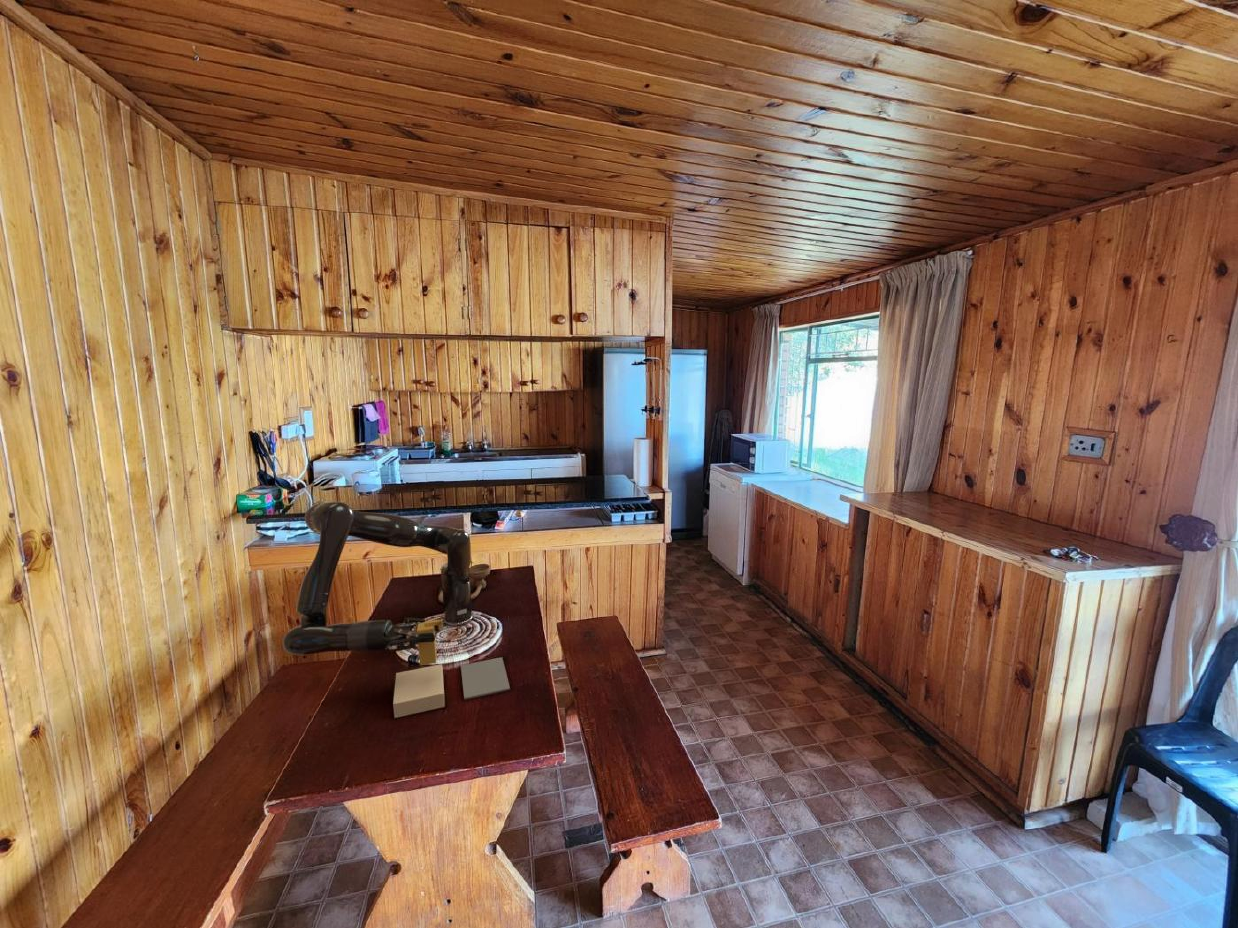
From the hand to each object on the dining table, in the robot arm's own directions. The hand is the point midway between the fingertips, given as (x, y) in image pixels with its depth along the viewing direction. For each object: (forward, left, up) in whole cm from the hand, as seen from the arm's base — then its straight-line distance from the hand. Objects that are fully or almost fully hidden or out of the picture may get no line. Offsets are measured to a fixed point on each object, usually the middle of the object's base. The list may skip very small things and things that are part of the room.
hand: (436, 631), depth 134 cm
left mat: (-2, +12, -18) cm, 21 cm away
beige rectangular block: (0, -5, -18) cm, 19 cm away
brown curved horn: (-62, +11, -18) cm, 66 cm away
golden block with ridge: (-1, -2, -8) cm, 8 cm away
